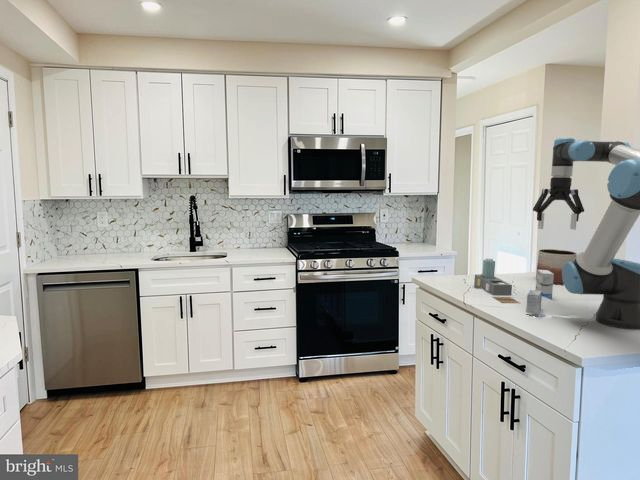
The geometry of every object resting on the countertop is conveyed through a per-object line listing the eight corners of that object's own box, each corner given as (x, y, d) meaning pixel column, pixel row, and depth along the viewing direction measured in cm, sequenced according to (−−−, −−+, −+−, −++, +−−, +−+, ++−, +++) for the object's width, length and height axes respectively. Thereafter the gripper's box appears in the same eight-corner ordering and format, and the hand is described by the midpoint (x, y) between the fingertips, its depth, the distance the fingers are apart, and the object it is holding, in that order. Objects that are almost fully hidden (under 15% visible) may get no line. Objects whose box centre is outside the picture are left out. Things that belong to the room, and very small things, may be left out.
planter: (539, 276, 243) (541, 248, 241) (576, 281, 233) (579, 251, 231) (532, 281, 229) (535, 251, 227) (571, 287, 219) (574, 255, 216)
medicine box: (538, 317, 166) (540, 295, 165) (525, 315, 169) (527, 293, 168) (540, 312, 173) (542, 291, 172) (528, 310, 175) (530, 289, 174)
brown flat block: (520, 306, 181) (521, 303, 181) (501, 306, 181) (501, 303, 180) (509, 300, 191) (509, 296, 191) (491, 300, 190) (491, 296, 190)
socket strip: (511, 298, 194) (512, 284, 193) (492, 298, 194) (493, 284, 193) (490, 286, 216) (491, 273, 215) (473, 286, 215) (474, 273, 214)
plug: (493, 286, 207) (495, 259, 206) (485, 286, 207) (486, 259, 206) (489, 284, 211) (491, 258, 210) (481, 284, 211) (483, 258, 210)
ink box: (552, 300, 193) (554, 273, 191) (539, 299, 194) (542, 273, 192) (546, 295, 201) (548, 269, 199) (534, 294, 202) (536, 269, 200)
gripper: (585, 177, 184) (580, 228, 186) (526, 176, 183) (522, 227, 185) (597, 177, 176) (592, 230, 179) (535, 176, 175) (531, 229, 178)
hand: (556, 229), depth 182 cm, fingers open, 13 cm apart
